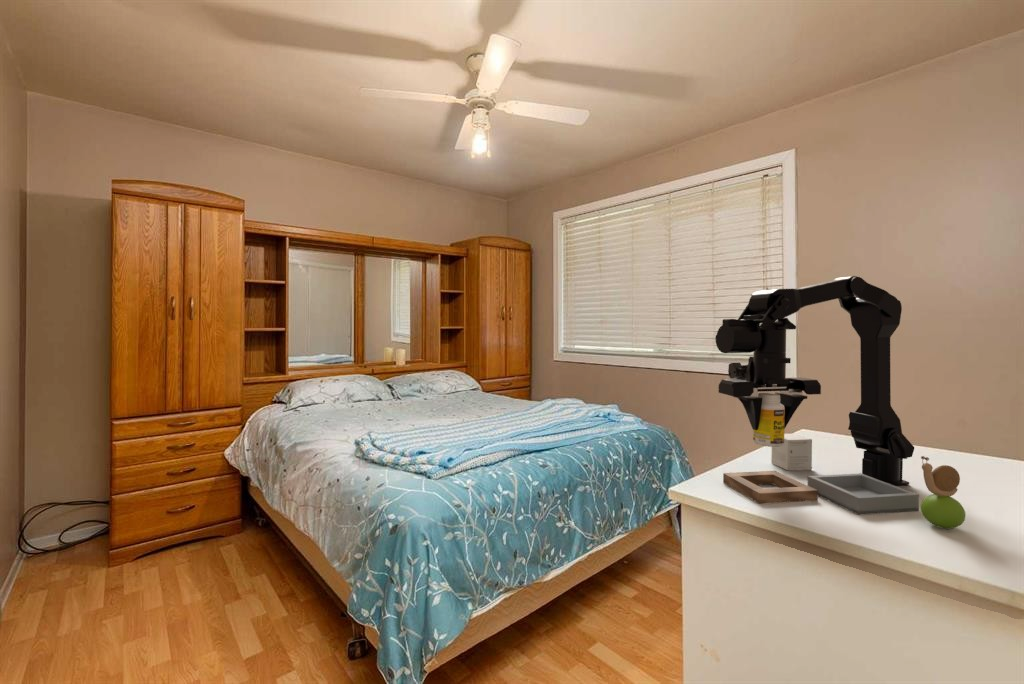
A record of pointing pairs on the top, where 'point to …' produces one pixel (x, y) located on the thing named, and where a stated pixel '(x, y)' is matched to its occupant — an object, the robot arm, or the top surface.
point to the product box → (793, 453)
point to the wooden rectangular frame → (786, 492)
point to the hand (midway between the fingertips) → (768, 429)
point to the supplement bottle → (770, 421)
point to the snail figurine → (942, 496)
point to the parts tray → (864, 494)
